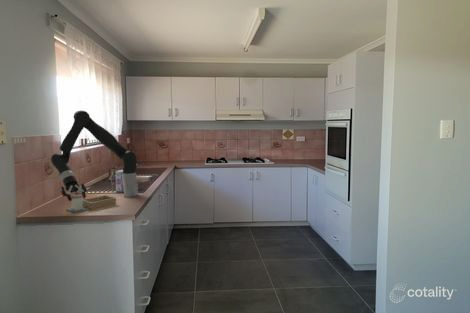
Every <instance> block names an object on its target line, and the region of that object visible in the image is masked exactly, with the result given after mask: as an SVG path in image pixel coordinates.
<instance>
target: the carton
mask: <svg viewBox="0 0 470 313" xmlns="http://www.w3.org/2000/svg"><path fill="white" fill-rule="evenodd" d="M82 202H83V207H85V208H87V209H89V210H91V211H95V212H97V211H101V210H105V209H106V210H107V209H110V208H114V207H119V206H120V205H119V204H117V198H116V197H113V196H110V195H106V194H105V195H100V196H94V197H89V198H85V199H83V198H82Z"/></svg>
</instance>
